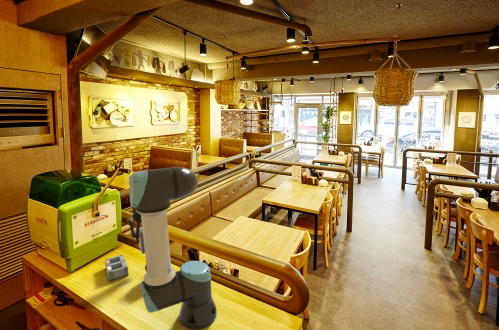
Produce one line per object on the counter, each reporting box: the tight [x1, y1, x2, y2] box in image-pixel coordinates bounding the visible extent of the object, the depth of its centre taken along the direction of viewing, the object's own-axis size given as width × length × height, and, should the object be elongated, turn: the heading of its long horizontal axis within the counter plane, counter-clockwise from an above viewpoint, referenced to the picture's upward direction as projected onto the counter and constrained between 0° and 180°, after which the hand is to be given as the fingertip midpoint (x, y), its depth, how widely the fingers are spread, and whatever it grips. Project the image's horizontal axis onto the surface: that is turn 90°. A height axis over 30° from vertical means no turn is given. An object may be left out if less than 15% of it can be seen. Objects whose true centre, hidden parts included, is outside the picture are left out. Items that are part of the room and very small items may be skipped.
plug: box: [139, 226, 145, 255], centre depth 148 cm, size 4×4×13 cm
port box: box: [104, 254, 130, 283], centre depth 148 cm, size 14×9×5 cm, turn 33°
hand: (144, 246), depth 149 cm, fingers closed on plug, 4 cm apart
